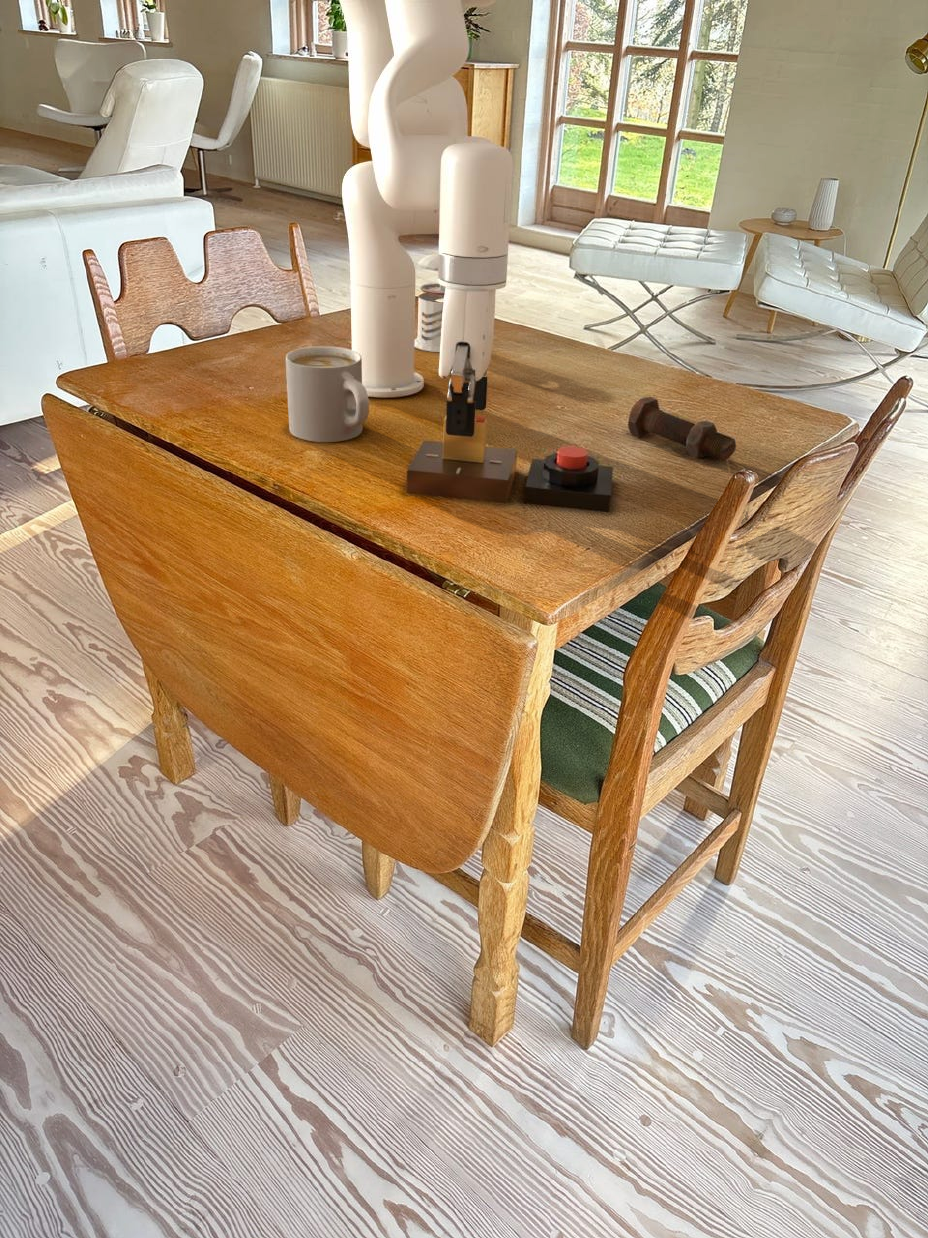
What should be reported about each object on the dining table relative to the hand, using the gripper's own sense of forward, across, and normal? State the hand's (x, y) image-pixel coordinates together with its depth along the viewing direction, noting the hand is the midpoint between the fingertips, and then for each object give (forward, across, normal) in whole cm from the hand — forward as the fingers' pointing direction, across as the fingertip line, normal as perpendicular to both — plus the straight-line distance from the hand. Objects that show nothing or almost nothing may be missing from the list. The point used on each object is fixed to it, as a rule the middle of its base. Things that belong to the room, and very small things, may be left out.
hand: (466, 421), depth 113 cm
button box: (+8, 0, +13) cm, 15 cm away
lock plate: (+8, 0, 0) cm, 8 cm away
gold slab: (+5, 0, 0) cm, 5 cm away
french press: (+7, -60, -13) cm, 62 cm away
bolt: (+8, -19, +27) cm, 34 cm away
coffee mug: (+8, -12, -20) cm, 25 cm away
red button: (+4, 0, +13) cm, 14 cm away
